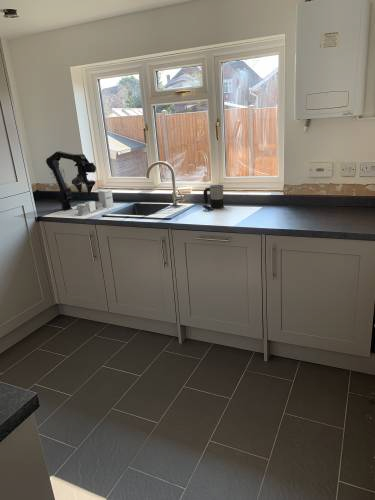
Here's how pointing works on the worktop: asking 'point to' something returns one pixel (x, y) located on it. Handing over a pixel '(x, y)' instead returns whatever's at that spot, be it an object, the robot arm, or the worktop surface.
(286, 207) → the worktop surface
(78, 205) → the block
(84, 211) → the rail
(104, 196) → the supplement box
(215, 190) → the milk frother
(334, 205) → the worktop surface
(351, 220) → the worktop surface
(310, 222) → the worktop surface
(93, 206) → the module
